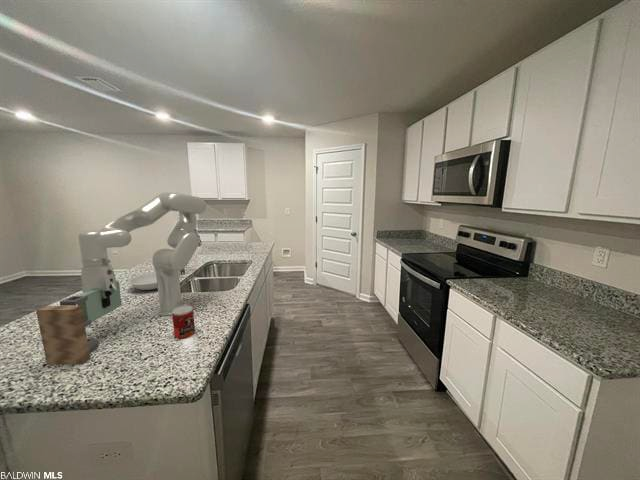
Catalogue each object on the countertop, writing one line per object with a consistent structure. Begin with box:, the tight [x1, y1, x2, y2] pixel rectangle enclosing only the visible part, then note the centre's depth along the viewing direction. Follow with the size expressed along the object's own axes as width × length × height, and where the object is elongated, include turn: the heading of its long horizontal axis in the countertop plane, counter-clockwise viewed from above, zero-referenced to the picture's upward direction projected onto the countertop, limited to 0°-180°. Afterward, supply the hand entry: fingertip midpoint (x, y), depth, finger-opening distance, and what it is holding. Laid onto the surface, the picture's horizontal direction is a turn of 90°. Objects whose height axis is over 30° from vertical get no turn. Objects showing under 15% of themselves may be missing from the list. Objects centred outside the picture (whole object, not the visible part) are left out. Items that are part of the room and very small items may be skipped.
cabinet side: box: [35, 305, 100, 366], centre depth 88 cm, size 12×10×20 cm
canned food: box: [171, 305, 196, 340], centre depth 103 cm, size 8×8×11 cm
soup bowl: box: [127, 271, 158, 291], centre depth 155 cm, size 24×24×7 cm
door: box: [59, 280, 123, 328], centre depth 97 cm, size 5×21×11 cm, turn 1°
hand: (102, 306), depth 100 cm, fingers closed on door, 3 cm apart
